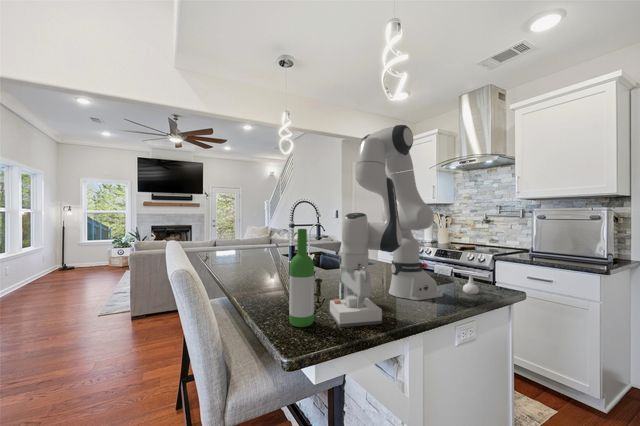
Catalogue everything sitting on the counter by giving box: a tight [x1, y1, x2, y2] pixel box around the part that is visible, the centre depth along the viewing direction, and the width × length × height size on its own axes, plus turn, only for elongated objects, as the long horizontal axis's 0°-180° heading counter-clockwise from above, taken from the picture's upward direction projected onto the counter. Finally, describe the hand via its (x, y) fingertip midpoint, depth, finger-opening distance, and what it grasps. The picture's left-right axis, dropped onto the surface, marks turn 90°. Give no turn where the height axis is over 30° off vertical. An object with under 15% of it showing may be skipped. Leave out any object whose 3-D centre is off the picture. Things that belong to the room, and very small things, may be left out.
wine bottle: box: [288, 228, 315, 328], centre depth 90 cm, size 8×8×30 cm
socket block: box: [329, 297, 383, 328], centre depth 95 cm, size 14×12×5 cm
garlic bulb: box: [462, 274, 480, 295], centre depth 126 cm, size 6×6×8 cm
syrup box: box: [338, 263, 357, 300], centre depth 112 cm, size 6×6×14 cm
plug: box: [346, 295, 364, 308], centre depth 95 cm, size 5×4×6 cm
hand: (354, 303), depth 95 cm, fingers open, 8 cm apart
